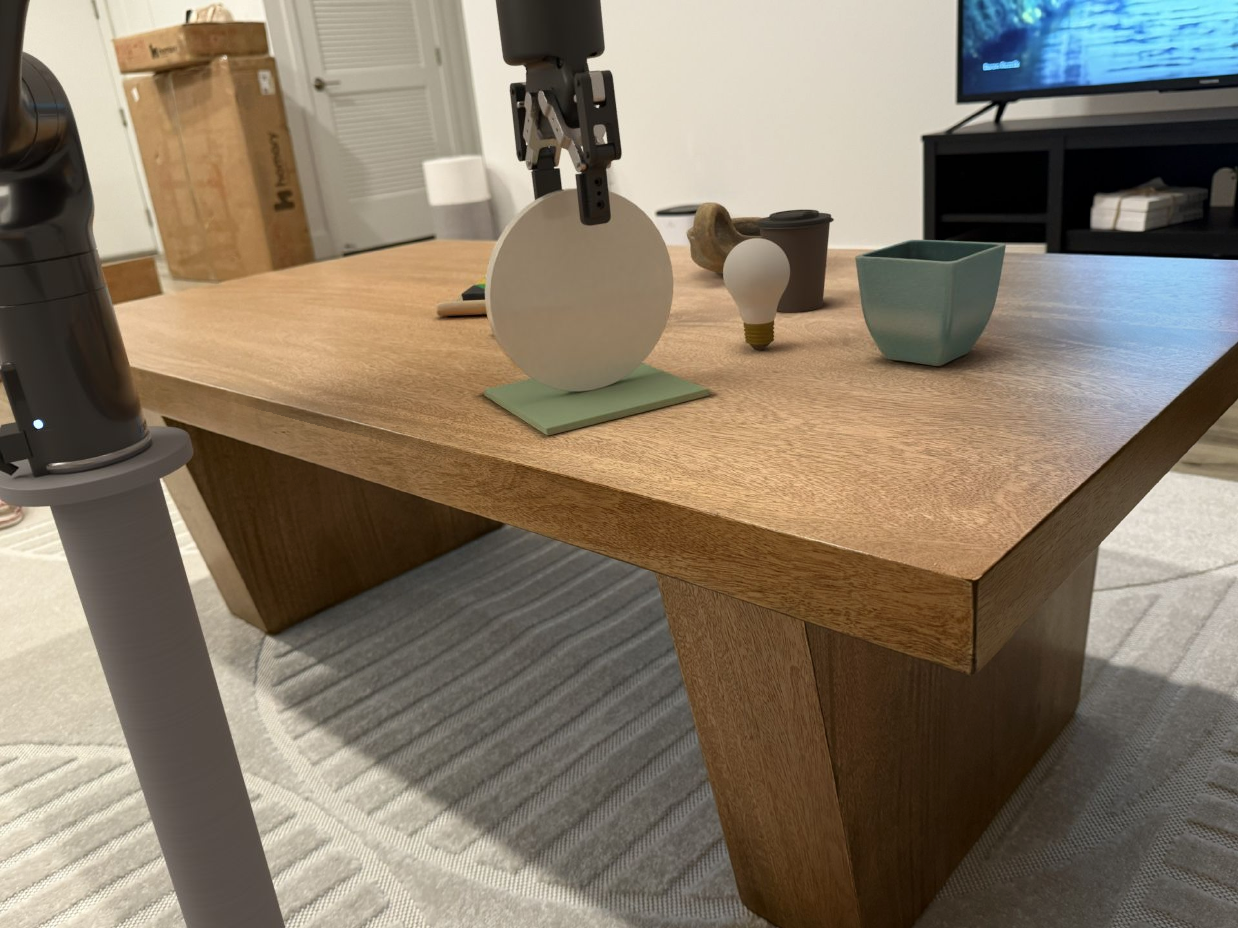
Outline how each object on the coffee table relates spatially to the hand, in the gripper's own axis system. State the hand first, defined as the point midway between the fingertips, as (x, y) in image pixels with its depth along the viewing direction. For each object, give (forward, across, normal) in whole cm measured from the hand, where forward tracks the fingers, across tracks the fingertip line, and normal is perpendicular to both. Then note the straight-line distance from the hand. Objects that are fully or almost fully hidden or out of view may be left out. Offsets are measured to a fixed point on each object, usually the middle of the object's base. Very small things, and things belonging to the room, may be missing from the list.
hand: (572, 220), depth 76 cm
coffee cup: (+14, -14, +31) cm, 37 cm away
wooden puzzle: (+14, -44, +12) cm, 48 cm away
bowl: (+14, -35, +37) cm, 53 cm away
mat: (+14, 0, 0) cm, 14 cm away
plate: (+14, 0, 0) cm, 14 cm away
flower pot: (+14, +11, +26) cm, 32 cm away
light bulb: (+14, -2, +18) cm, 23 cm away
